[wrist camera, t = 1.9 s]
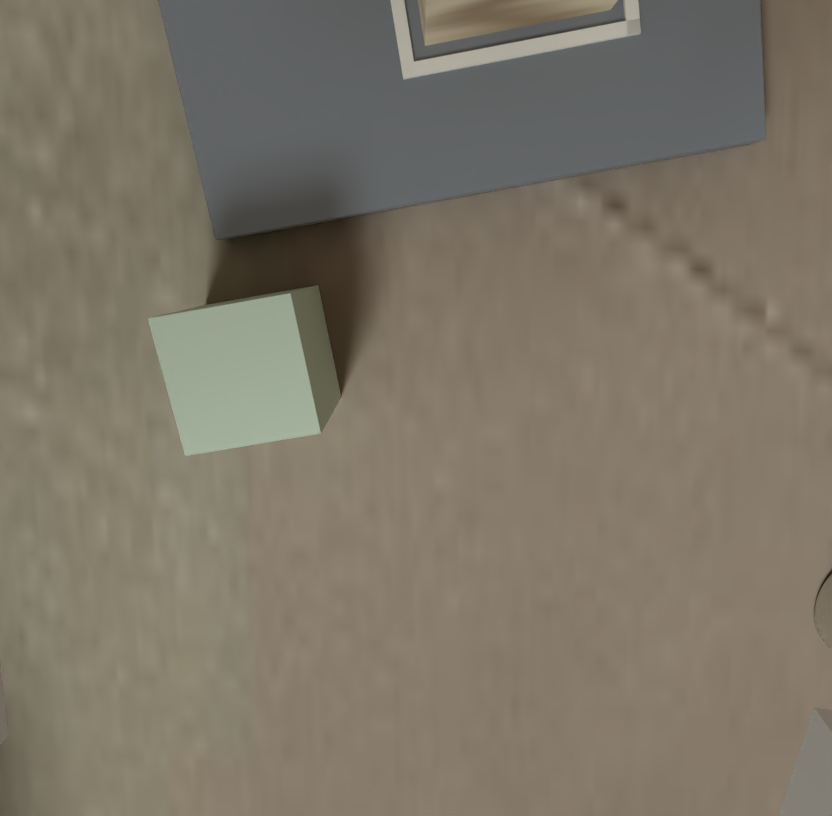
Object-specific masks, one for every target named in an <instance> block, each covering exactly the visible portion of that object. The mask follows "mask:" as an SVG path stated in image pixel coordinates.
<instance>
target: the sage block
mask: <svg viewBox="0 0 832 816" xmlns="http://www.w3.org/2000/svg"><path fill="white" fill-rule="evenodd" d="M148 321H149V325H150V329H151V332H152V336H153V340H154V343H155V347H156V351H157V354H158V358H159V362H160V365H161V369H162V373H163V376H164V380H165V384H166V387H167V391H168V395H169V398H170V402H171V406H172V409H173V413H174V417H175V421H176V424H177V428H178V432H179V435H180V439H181V443H182V446H183V450H184V454H185V456H188V455H194V454H200V453H206V452H212V451H218V450H224V449H230V448H236V447H242V446H248V445H254V444H260V443H266V442H272V441H278V440H284V439H290V438H296V437H302V436H308V435H314V434H320V433H321V432H322V430H323V429H324V427H325V425H326V423H327V422H328V420H329V418H330V416H331V414H332V413H333V411H334V409H335V407H336V405H337V404H338V402H339V400H340V398H341V393H340V388H339V384H338V379H337V374H336V369H335V364H334V359H333V354H332V350H331V345H330V340H329V335H328V330H327V325H326V321H325V316H324V311H323V306H322V301H321V296H320V291H319V287H318V285H315V286H310V287H304V288H298V289H293V290H287V291H281V292H276V293H270V294H265V295H259V296H253V297H248V298H242V299H236V300H231V301H225V302H220V303H214V304H208V305H203V306H199V307H195V308H190V309H186V310H182V311H178V312H173V313H169V314H165V315H161V316H156V317H152V318H148Z"/></svg>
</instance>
